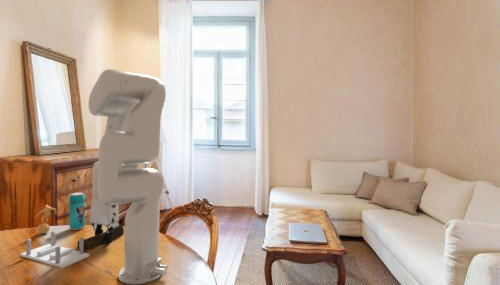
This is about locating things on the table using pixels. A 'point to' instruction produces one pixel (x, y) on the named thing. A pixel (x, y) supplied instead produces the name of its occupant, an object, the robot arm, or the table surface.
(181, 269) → the table surface
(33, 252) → the peg rack
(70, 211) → the beverage can
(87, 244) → the dark brown rough rod
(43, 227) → the figurine
